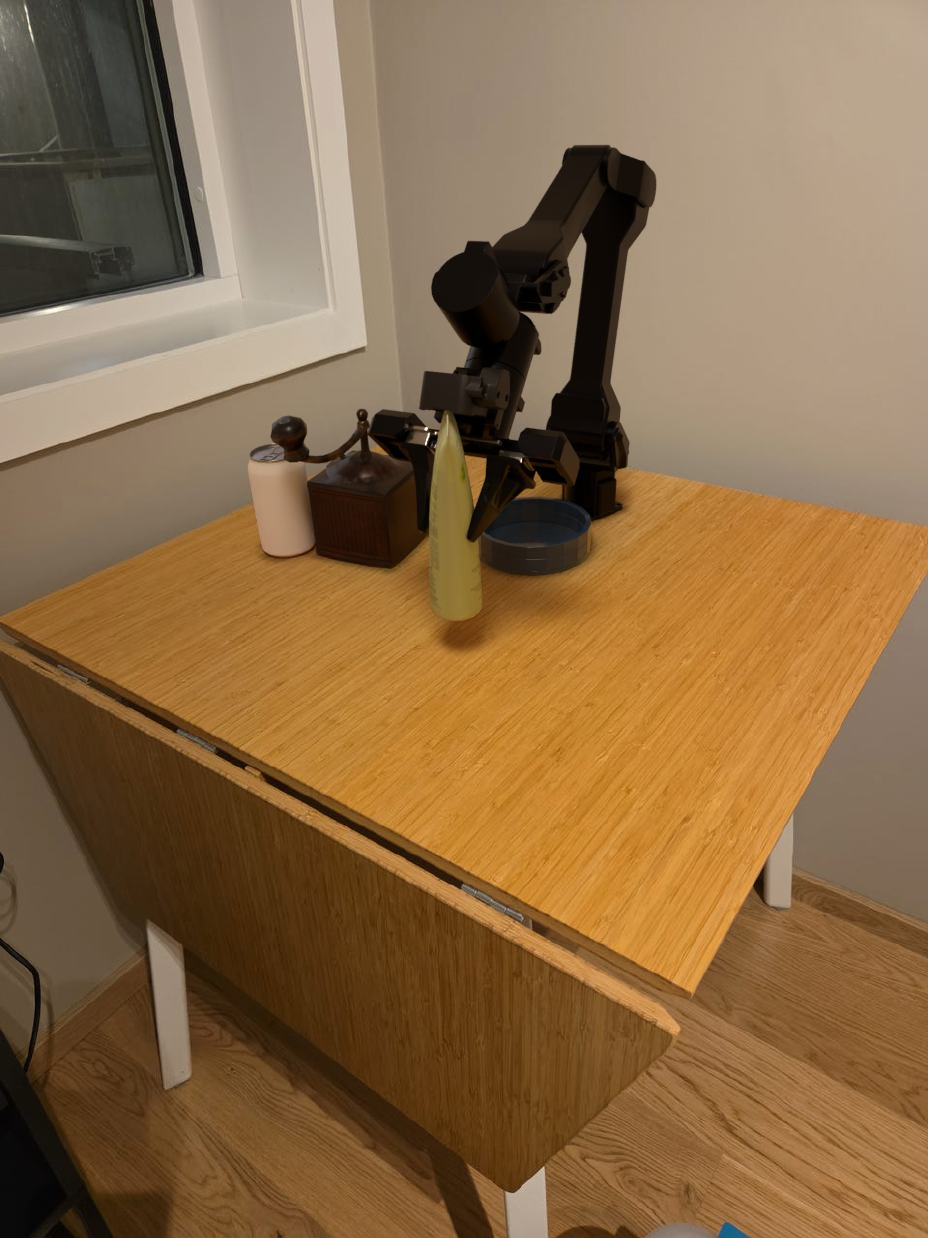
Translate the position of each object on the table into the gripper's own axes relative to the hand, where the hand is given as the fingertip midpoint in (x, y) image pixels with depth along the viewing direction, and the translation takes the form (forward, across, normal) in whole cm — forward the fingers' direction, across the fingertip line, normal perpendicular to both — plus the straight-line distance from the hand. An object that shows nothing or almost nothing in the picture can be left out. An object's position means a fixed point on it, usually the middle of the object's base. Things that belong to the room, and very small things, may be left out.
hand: (445, 536), depth 79 cm
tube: (+5, 0, +8) cm, 9 cm away
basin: (-8, -2, +26) cm, 28 cm away
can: (0, -29, +19) cm, 35 cm away
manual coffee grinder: (-2, -20, +20) cm, 29 cm away
